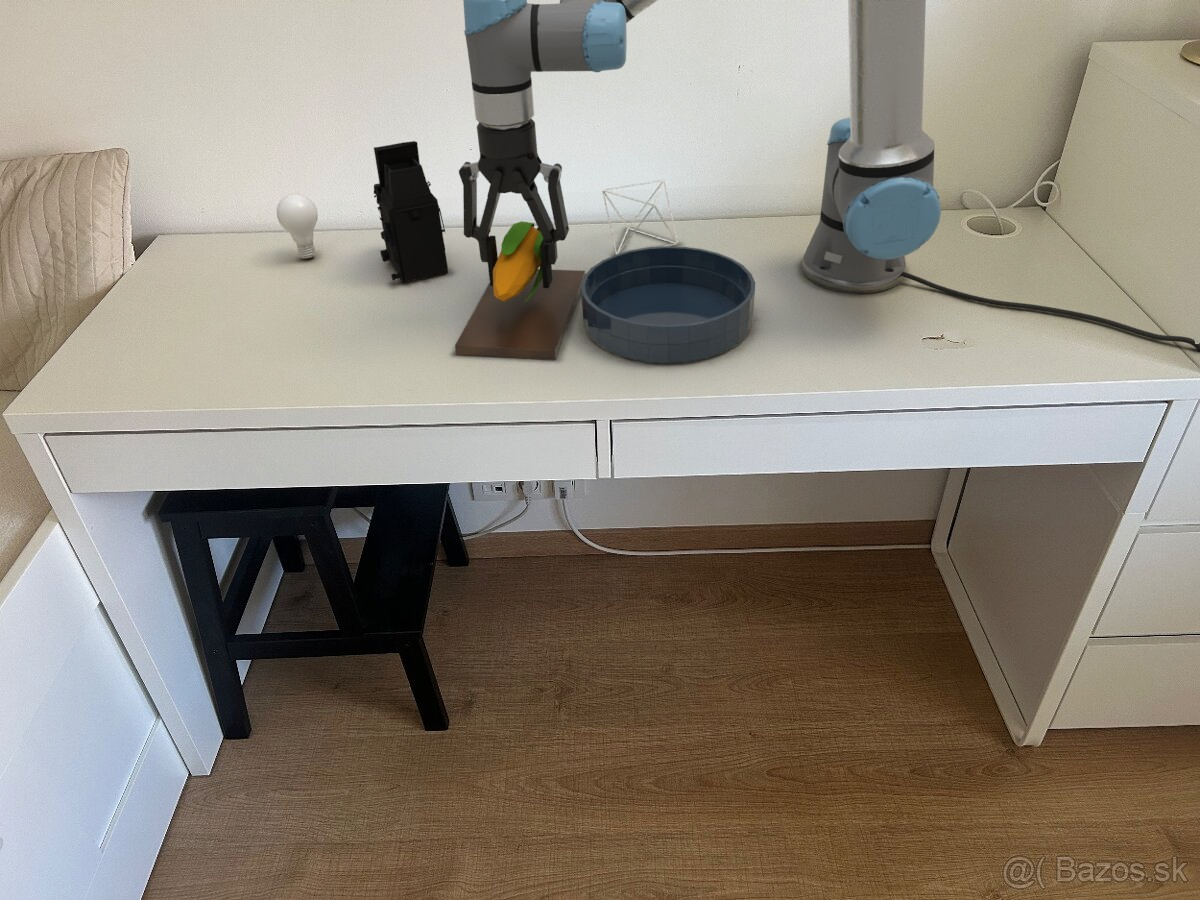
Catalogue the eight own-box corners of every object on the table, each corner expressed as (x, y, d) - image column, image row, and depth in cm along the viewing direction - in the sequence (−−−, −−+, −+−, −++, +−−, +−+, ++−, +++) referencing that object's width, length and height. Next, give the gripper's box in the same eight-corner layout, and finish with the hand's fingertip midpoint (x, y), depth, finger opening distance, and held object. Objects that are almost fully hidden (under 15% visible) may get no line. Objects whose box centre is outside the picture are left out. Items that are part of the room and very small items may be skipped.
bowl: (754, 285, 137) (756, 248, 133) (750, 370, 118) (753, 330, 114) (597, 279, 140) (596, 243, 136) (569, 361, 121) (566, 322, 118)
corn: (554, 207, 132) (526, 267, 116) (561, 255, 136) (535, 319, 121) (505, 209, 133) (471, 270, 118) (514, 257, 138) (482, 321, 122)
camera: (431, 243, 154) (412, 123, 141) (456, 273, 144) (437, 148, 131) (374, 255, 150) (349, 135, 138) (395, 288, 140) (371, 161, 128)
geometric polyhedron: (598, 234, 154) (596, 182, 148) (657, 223, 156) (657, 172, 151) (622, 264, 144) (620, 210, 139) (685, 252, 147) (686, 199, 141)
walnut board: (585, 279, 140) (585, 270, 139) (555, 359, 122) (554, 350, 121) (498, 276, 142) (497, 267, 142) (456, 354, 124) (454, 345, 123)
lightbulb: (335, 254, 151) (321, 191, 145) (307, 269, 147) (291, 205, 140) (309, 247, 154) (293, 184, 147) (281, 261, 150) (263, 198, 143)
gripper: (587, 112, 116) (594, 273, 130) (439, 110, 119) (461, 268, 133) (576, 131, 111) (585, 298, 124) (421, 128, 113) (447, 292, 127)
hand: (521, 282), depth 129 cm, fingers closed on corn, 7 cm apart
